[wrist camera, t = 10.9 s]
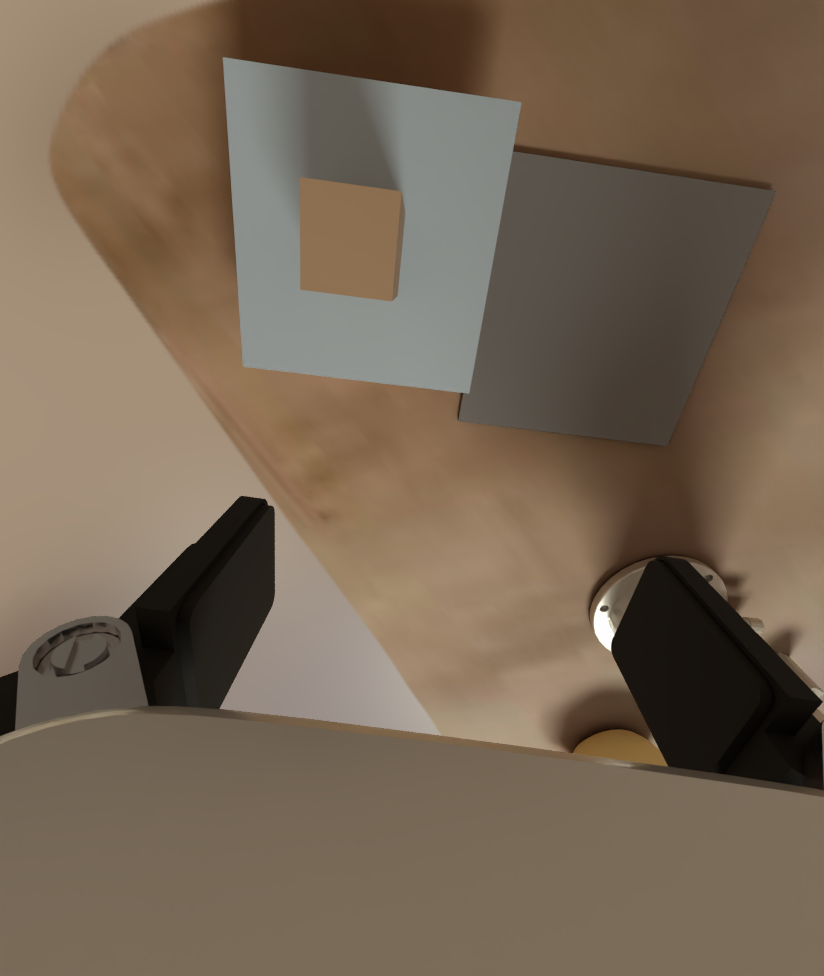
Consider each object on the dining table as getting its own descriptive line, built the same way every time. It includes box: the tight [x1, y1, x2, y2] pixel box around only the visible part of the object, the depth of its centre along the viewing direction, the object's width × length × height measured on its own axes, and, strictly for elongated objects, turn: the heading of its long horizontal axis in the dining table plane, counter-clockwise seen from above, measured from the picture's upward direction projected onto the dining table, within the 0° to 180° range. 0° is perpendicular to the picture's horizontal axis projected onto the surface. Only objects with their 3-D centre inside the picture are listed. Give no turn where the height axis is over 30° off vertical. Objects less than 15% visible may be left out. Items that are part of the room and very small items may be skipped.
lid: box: [223, 57, 522, 394], centre depth 20 cm, size 14×14×7 cm
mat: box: [458, 151, 776, 446], centre depth 29 cm, size 17×17×1 cm
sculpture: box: [573, 729, 668, 767], centre depth 47 cm, size 12×12×11 cm
